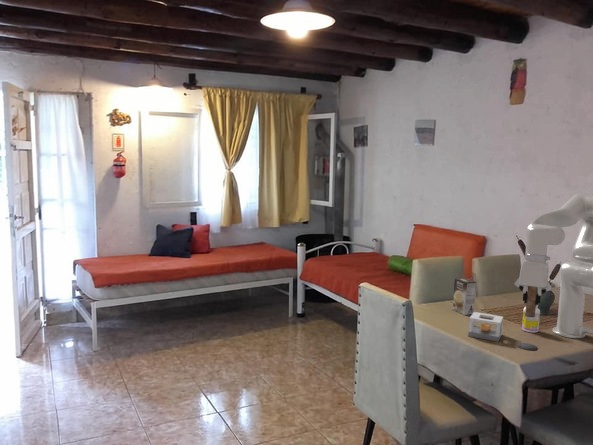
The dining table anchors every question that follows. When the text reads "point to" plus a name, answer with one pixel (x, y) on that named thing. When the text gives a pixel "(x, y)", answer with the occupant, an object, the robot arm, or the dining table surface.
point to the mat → (527, 346)
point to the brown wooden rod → (531, 301)
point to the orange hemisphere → (485, 327)
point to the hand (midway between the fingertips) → (531, 303)
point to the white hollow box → (476, 330)
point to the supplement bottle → (531, 321)
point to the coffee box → (464, 296)
